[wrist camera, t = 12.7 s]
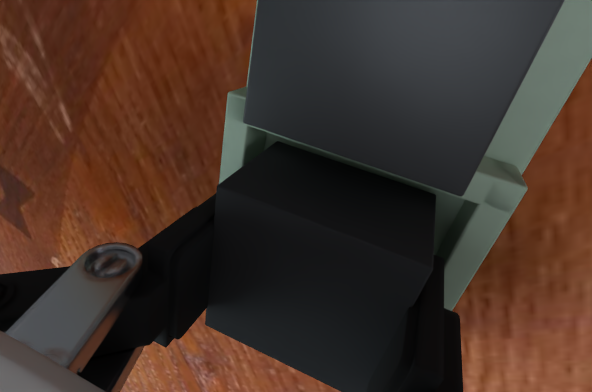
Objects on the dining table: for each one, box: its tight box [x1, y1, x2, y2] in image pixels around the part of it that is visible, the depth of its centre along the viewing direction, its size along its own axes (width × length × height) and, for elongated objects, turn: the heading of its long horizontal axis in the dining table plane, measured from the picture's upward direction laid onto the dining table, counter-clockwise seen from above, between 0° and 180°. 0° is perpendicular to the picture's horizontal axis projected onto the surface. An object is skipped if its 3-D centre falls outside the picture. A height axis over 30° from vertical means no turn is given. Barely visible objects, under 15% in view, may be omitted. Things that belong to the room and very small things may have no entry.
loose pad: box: [205, 141, 436, 392], centre depth 10 cm, size 5×5×4 cm
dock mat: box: [219, 0, 592, 311], centre depth 10 cm, size 8×13×5 cm, turn 168°
